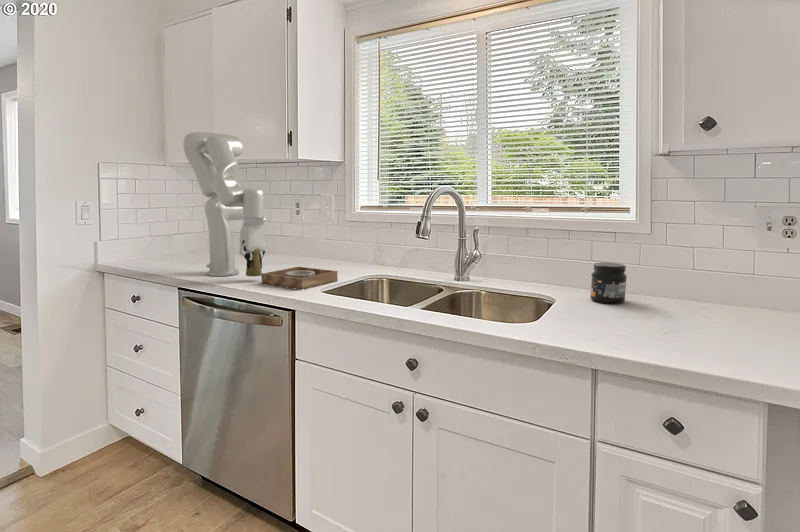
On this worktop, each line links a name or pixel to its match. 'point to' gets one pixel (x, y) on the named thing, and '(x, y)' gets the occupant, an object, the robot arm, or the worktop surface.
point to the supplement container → (608, 283)
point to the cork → (254, 264)
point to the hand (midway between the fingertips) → (254, 268)
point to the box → (299, 277)
